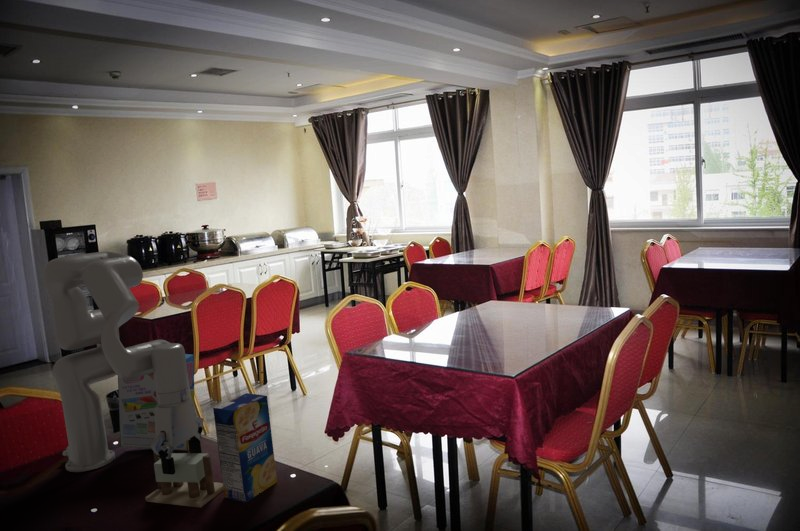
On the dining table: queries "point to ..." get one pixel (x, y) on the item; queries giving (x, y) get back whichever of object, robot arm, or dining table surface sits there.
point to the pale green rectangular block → (182, 468)
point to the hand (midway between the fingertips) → (183, 464)
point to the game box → (144, 409)
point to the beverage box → (245, 446)
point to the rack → (188, 489)
